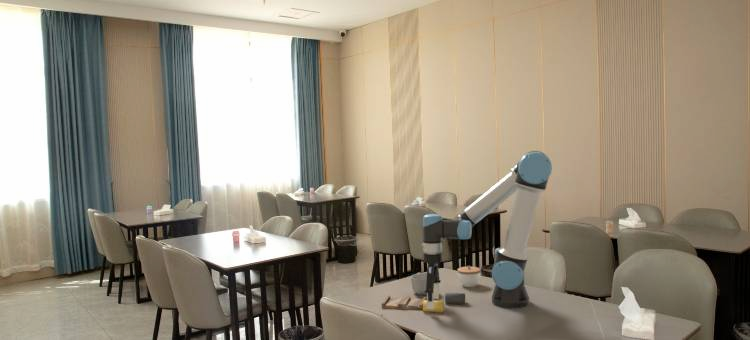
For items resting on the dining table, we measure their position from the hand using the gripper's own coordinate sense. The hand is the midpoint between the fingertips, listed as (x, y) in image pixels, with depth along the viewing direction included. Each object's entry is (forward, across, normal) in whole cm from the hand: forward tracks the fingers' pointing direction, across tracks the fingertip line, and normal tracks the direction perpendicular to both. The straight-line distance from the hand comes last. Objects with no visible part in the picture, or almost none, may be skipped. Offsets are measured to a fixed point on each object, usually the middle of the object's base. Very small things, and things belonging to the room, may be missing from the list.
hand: (433, 303), depth 217 cm
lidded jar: (+2, -36, +12) cm, 38 cm away
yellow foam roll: (0, +3, 0) cm, 3 cm away
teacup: (+3, -24, -8) cm, 25 cm away
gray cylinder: (0, -9, +8) cm, 12 cm away
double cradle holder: (+3, -4, -13) cm, 14 cm away
